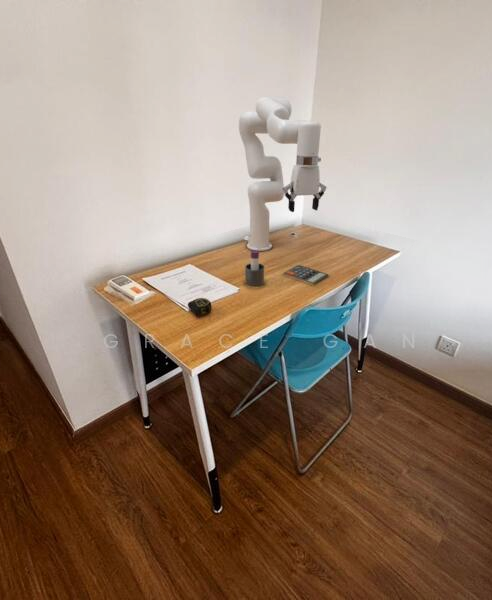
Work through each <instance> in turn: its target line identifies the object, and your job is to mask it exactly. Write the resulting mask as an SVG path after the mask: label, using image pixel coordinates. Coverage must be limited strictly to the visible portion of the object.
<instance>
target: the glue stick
mask: <svg viewBox="0 0 492 600" xmlns="http://www.w3.org/2000/svg"><path fill="white" fill-rule="evenodd" d="M259 262H260V251H258V250H250V263H251V270H259V264H260V263H259Z"/></svg>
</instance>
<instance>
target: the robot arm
mask: <svg viewBox="0 0 492 600" xmlns="http://www.w3.org/2000/svg"><path fill="white" fill-rule="evenodd" d="M291 116H292V103H291V102H290V100H289V99H287V98H286V97H283V96H270V95H269V96H262V97H260V98H259V99H258V100H257V101H256V104H255V110H250V111H245V112H243V113H241V115H240V116H239V118H238V132H239V135H240V138H241V142H242V144H243V148H244V152H245V153H244V154H245V159H246V160H245V161H246V167H247V173H248V176H249V177H250V178H251V179H254V180H260V181H254V182H252V183H250V184H249V185H248V187H247V197H248V205H249V235H245V236H244V241H246V242H247V243H246V247H247V249H249V250H250V251H252V250H258V251H259V252H264V251H269V250H271V249H272V248H273V245H272V243H271V242H270V210H269V208H268V206H267V205H266V204H267V203H274V202H275V203H277V202H281V201H282V200H283V199H284V197H286V199H287V200H288V206H287V207H288V211H289V212H291V213H294V212H295V205H296V203H295V202H296V201H295V199H296V197H297V196H298V197H299V196H300V197H301V196H313V198H312V203H311V204H312V206H311V208H312V210H314V211H318V208H319V206H320V205H319V204H320V200H321V198H322V197H323V196H324V194H325V192H326V190H327V188H328V187H327V185H325V184H323V183H321V181H320V179H321V177H320V175H321V174H320V166H319V165H318V164H319V163H321V162H322V158H321V157H319V152H320V151H319V150H320V140H321V127H322V126H321V123H320V122H319V121H314V120H305V119H290V118H291ZM256 134H266V135H267V134H268V136H269V137H270V138H271V139H272V140H273V141H274V142H276V143H277V144H281V145H290V144H291V145H294V144H295V145H297V146H296V159H295V164H294V165H293V167H292V171H291V176H290V182H289V183H288V184H286V185H285V183H284V176H283V167H282V164H281V161H280V160H279V158H278V157H276V156H274V155H273V156H270V155H269V156H266V155H265V148H264V145H263V143H262V141H261V139H260V138H259V137H258V136H257V135H256ZM264 179H269V180H264ZM261 180H262V181H261ZM289 192H290V193H289Z"/></svg>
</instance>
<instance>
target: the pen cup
mask: <svg viewBox="0 0 492 600" xmlns="http://www.w3.org/2000/svg"><path fill="white" fill-rule="evenodd" d="M244 278H245V279H244V280H245V285H246V286H248V287H252V288H257V287H258V288H259V287H262V286H263V285H264V284H265V266H264V264H262V263H259V270H251V262H250V263H247V264H246V265H245V266H244Z"/></svg>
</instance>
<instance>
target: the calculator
mask: <svg viewBox="0 0 492 600" xmlns="http://www.w3.org/2000/svg"><path fill="white" fill-rule="evenodd" d="M283 274H284V275H286V276H289V277H293V278H295V279H298V280H301V281H304V282H307V283H309V284H312V285H313V286H315V285H317V284H318V283H319V282H321V281H323V280H324V279H326V278H327V277H329V274H328V273H326V272H323V271H319V270H317V269H313V268H310V267H307V266H304V265H301V264H298V265H296V266H294V267H292V268H290V269H288V270H286V271H284V272H283Z"/></svg>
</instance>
